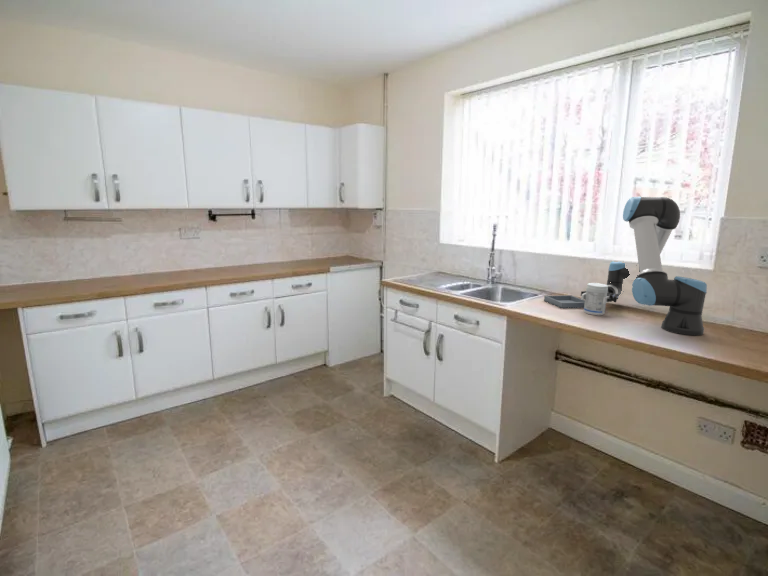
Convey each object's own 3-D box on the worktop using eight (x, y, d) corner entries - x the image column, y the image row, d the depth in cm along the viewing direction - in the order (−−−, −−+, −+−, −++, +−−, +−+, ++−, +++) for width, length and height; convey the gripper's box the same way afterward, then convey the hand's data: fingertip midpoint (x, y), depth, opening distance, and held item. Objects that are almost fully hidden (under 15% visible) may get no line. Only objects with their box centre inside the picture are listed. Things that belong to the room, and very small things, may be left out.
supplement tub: (588, 309, 213) (592, 281, 210) (607, 313, 206) (611, 285, 203) (579, 312, 207) (583, 283, 204) (599, 316, 200) (603, 287, 197)
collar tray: (589, 307, 217) (590, 302, 216) (561, 308, 214) (561, 302, 213) (570, 300, 233) (571, 295, 232) (543, 300, 230) (544, 295, 229)
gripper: (630, 303, 210) (616, 310, 195) (585, 296, 225) (568, 302, 210) (632, 289, 209) (618, 295, 193) (586, 282, 224) (570, 287, 208)
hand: (592, 298), depth 201 cm, fingers closed on supplement tub, 9 cm apart
